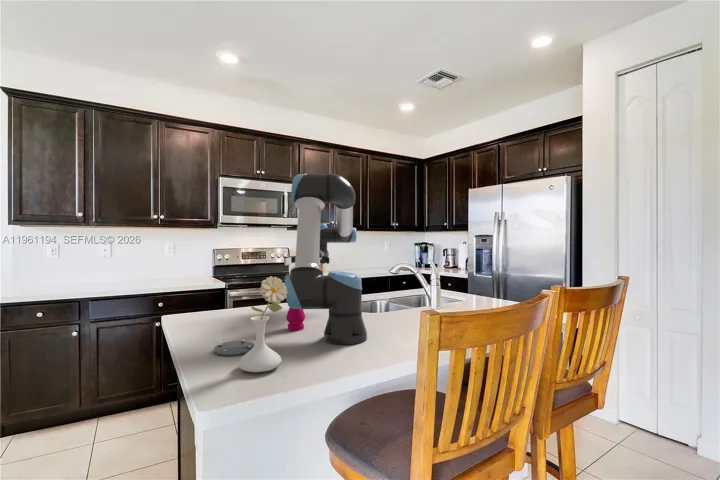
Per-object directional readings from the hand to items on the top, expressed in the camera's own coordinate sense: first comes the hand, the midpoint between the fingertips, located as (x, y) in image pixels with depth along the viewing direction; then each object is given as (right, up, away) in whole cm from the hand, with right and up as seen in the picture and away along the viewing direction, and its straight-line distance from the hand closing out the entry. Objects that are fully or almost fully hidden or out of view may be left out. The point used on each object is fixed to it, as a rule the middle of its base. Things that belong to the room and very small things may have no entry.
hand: (301, 262), depth 146 cm
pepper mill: (-1, -26, -8) cm, 27 cm away
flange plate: (-15, -26, -34) cm, 45 cm away
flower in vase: (-2, -26, -49) cm, 56 cm away
